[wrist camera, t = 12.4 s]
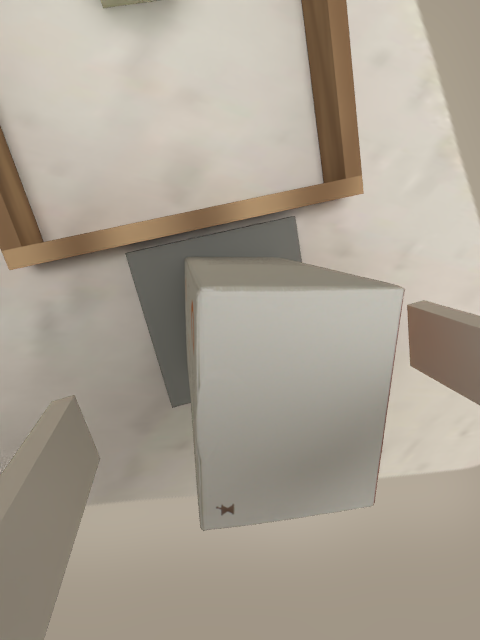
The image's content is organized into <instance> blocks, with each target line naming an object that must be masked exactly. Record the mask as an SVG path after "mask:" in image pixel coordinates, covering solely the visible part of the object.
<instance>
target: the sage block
mask: <svg viewBox="0 0 480 640" xmlns="http://www.w3.org/2000/svg"><path fill="white" fill-rule="evenodd" d="M152 1H159V0H101V3H102V6H103V8H108V7H115V6H123V5H130V4H137V3H145V2H152Z"/></svg>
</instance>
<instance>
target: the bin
mask: <svg viewBox="0 0 480 640" xmlns="http://www.w3.org/2000/svg"><path fill="white" fill-rule="evenodd" d="M302 8H303V16H304V24H305V33H306V41H307V49H308V57H309V65H310V73H311V82H312V90H313V98H314V106H315V114H316V123H317V131H318V139H319V147H320V155H321V163H322V172H323V180H324V183H323V184H318V185H313V186H309V187H304V188H299V189H294V190H290V191H285V192H280V193H275V194H271V195H266V196H261V197H256V198H252V199H247V200H242V201H237V202H233V203H228V204H223V205H218V206H214V207H209V208H204V209H199V210H194V211H190V212H185V213H180V214H175V215H171V216H166V217H161V218H156V219H152V220H147V221H142V222H137V223H133V224H128V225H123V226H118V227H114V228H109V229H104V230H99V231H94V232H90V233H85V234H80V235H75V236H71V237H66V238H61V239H56V240H52V241H47V242H43V240H42V237H41V234H40V231H39V229H38V226H37V223H36V221H35V218H34V215H33V213H32V210H31V207H30V205H29V202H28V199H27V197H26V194H25V191H24V189H23V186H22V183H21V180H20V178H19V175H18V172H17V170H16V167H15V164H14V162H13V159H12V156H11V154H10V151H9V148H8V146H7V143H6V140H5V138H4V135H3V132H2V129H1V127H0V249H1V251H2V253H3V256H4V258H5V261H6V263H7V266H8V268H9V270H13V269H17V268H22V267H26V266H31V265H36V264H40V263H45V262H49V261H54V260H59V259H63V258H68V257H72V256H77V255H82V254H86V253H91V252H96V251H100V250H105V249H109V248H114V247H119V246H123V245H128V244H132V243H137V242H142V241H146V240H151V239H155V238H160V237H165V236H169V235H174V234H179V233H183V232H188V231H192V230H197V229H202V228H206V227H211V226H215V225H220V224H225V223H229V222H234V221H238V220H243V219H248V218H252V217H257V216H262V215H266V214H271V213H275V212H280V211H285V210H289V209H294V208H298V207H303V206H308V205H312V204H317V203H321V202H326V201H331V200H335V199H340V198H345V197H349V196H354V195H358V194H363V182H362V170H361V159H360V148H359V137H358V126H357V115H356V104H355V93H354V82H353V71H352V59H351V48H350V37H349V26H348V15H347V4H346V0H302Z"/></svg>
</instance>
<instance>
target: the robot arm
mask: <svg viewBox="0 0 480 640" xmlns="http://www.w3.org/2000/svg"><path fill="white" fill-rule="evenodd" d="M407 311H408V330H409V349H410V366H412V367H414V368H415V369H417V370H419V371H421V372H422V373H424V374H426V375H428V376H429V377H431V378H433V379H435V380H436V381H438V382H440V383H442V384H443V385H445V386H447V387H449V388H450V389H452V390H454V391H456V392H457V393H459V394H461V395H463V396H464V397H466V398H468V399H470V400H471V401H473V402H475V403H477V404H478V405H480V316H478V315H474V314H471V313H467V312H464V311H460V310H456V309H453V308H449V307H446V306H442V305H439V304H435V303H432V302H428V301H420V302H416V303H412V304H409V305H407ZM99 460H100V457H99V455H98V452H97V450H96V447H95V445H94V442H93V440H92V437H91V435H90V432H89V430H88V427H87V425H86V422H85V420H84V417H83V415H82V413H81V410H80V408H79V405H78V403H77V400H76V398H75V395H73V396H70V397H66V398H62V399H59V400H55V401H52V402H51V403H50V405H49V406H48V408H47V409H46V411H45V412H44V414H43V415H42V416H41V418H40V419H39V421H38V422H37V424H36V425H35V427H34V428H33V429H32V431H31V432H30V434H29V435H28V437H27V438H26V440H25V441H24V442H23V444H22V445H21V447H20V448H19V450H18V451H17V453H16V454H15V455H14V457H13V458H12V460H11V461H10V463H9V464H8V466H7V467H6V468H5V470H4V471H3V473H2V474H1V476H0V640H44V637H45V635H46V631H47V628H48V625H49V622H50V618H51V615H52V612H53V609H54V605H55V602H56V599H57V596H58V593H59V589H60V586H61V583H62V580H63V576H64V573H65V570H66V567H67V563H68V560H69V557H70V554H71V551H72V547H73V544H74V541H75V537H76V534H77V531H78V528H79V524H80V522H81V518H82V515H83V512H84V509H85V505H86V502H87V499H88V496H89V493H90V489H91V486H92V483H93V480H94V476H95V473H96V470H97V467H98V464H99Z"/></svg>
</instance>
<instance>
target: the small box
mask: <svg viewBox="0 0 480 640" xmlns="http://www.w3.org/2000/svg"><path fill="white" fill-rule="evenodd" d="M404 291H405V289H404V288H402V287H400V286H397V285H393V284H390V283H386V282H382V281H378V280H373V279H369V278H365V277H360V276H356V275H352V274H347V273H343V272H339V271H335V270H330V269H326V268H322V267H318V266H314V265H309V264H305V263H301V262H297V261H292V260H287V259H283V258H279V257H186V258H185V315H186V346H187V365H188V375H189V386H190V395H191V410H192V425H193V441H194V454H195V467H196V481H197V494H198V506H199V517H200V527H201V529H202V530H203V531H205V530H211V529H221V528H229V527H238V526H246V525H254V524H261V523H268V522H274V521H281V520H288V519H294V518H302V517H308V516H315V515H320V514H327V513H334V512H341V511H347V510H352V509H357V508H364V507H371V506H373V505H374V503H375V494H376V488H377V480H378V473H379V466H380V459H381V452H382V445H383V438H384V430H385V423H386V415H387V408H388V402H389V395H390V388H391V380H392V373H393V366H394V359H395V352H396V344H397V338H398V331H399V324H400V317H401V310H402V303H403V296H404Z"/></svg>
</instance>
